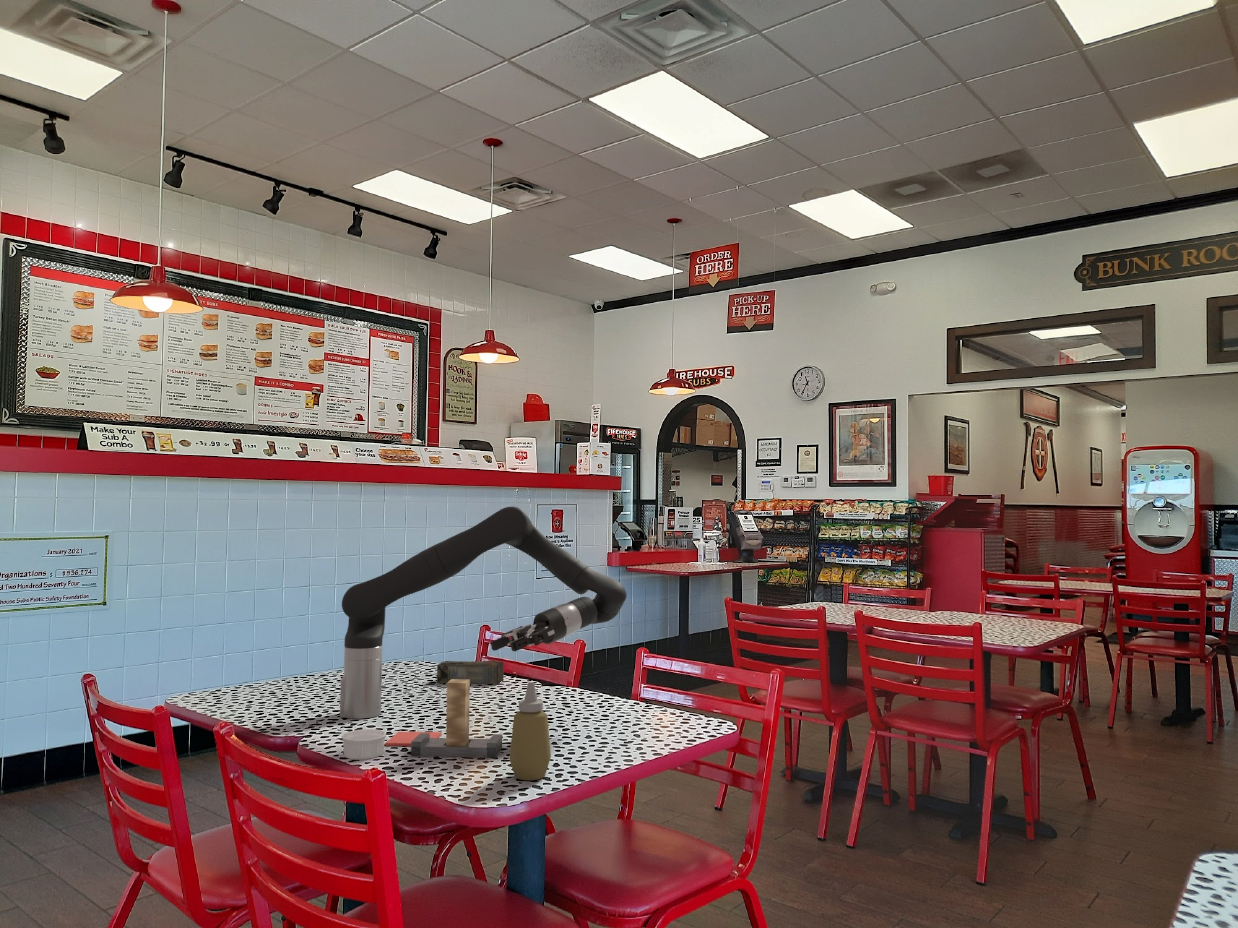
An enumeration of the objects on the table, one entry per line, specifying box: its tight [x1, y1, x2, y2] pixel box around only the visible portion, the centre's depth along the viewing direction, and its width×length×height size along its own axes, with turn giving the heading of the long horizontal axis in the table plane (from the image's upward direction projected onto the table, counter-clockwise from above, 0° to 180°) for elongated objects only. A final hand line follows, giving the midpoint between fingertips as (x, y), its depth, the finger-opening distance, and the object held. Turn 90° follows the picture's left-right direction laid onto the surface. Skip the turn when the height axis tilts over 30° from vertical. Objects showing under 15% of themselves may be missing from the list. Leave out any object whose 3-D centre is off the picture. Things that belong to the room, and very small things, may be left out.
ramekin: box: [341, 728, 387, 761], centre depth 179 cm, size 9×9×4 cm
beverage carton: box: [436, 659, 505, 685], centre depth 258 cm, size 8×19×7 cm, turn 85°
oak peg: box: [445, 679, 471, 746], centre depth 181 cm, size 4×4×15 cm
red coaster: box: [384, 731, 443, 747], centre depth 191 cm, size 10×10×1 cm
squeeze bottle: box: [509, 681, 552, 781], centre depth 165 cm, size 8×8×18 cm
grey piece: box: [410, 733, 503, 758], centre depth 181 cm, size 18×7×3 cm, turn 87°
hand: (501, 646), depth 191 cm, fingers open, 8 cm apart
